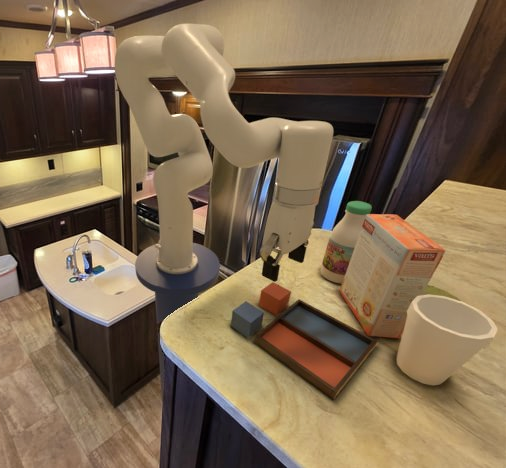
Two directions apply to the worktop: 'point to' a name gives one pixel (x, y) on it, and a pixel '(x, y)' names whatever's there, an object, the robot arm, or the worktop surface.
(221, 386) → the worktop surface
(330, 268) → the milk bottle
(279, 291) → the terracotta block
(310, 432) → the worktop surface
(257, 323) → the slate-blue block
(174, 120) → the robot arm
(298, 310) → the sorting tray
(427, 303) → the foam cup
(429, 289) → the mat
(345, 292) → the cracker box
